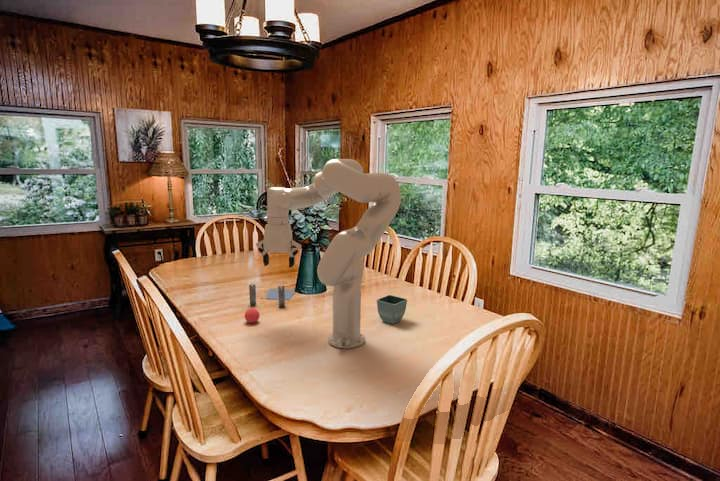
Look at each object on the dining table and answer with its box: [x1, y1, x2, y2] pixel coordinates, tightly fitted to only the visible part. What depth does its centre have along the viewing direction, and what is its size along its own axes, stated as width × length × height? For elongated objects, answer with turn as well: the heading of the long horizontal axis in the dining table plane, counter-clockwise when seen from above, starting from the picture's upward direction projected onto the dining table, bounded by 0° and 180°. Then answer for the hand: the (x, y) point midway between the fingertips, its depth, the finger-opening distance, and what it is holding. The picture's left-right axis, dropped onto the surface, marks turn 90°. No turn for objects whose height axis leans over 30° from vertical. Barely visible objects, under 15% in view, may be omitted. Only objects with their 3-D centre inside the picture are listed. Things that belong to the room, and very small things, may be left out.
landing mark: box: [265, 288, 296, 301], centre depth 191 cm, size 14×14×1 cm
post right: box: [277, 285, 286, 309], centre depth 174 cm, size 3×3×9 cm
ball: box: [244, 307, 260, 324], centre depth 157 cm, size 6×6×6 cm
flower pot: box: [376, 294, 408, 325], centre depth 160 cm, size 9×9×9 cm
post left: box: [248, 284, 257, 307], centre depth 175 cm, size 3×3×9 cm
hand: (278, 265), depth 155 cm, fingers open, 9 cm apart
